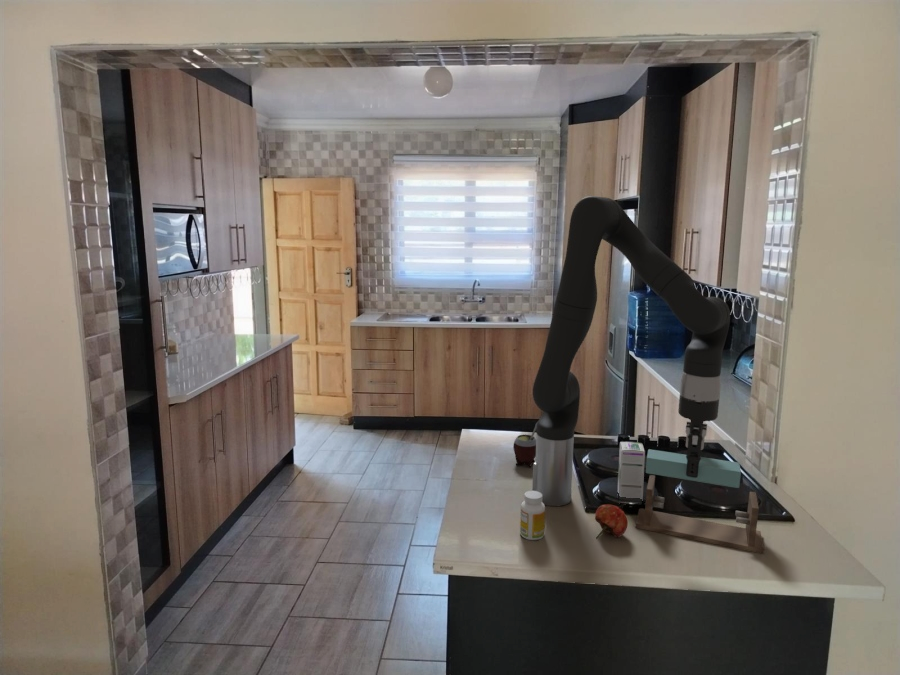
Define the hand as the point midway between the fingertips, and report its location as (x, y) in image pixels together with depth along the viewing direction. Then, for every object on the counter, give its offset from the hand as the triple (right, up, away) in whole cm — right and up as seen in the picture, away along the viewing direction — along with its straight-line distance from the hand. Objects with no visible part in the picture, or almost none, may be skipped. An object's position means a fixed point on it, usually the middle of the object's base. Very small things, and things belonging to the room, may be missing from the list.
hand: (692, 470), depth 121 cm
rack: (+5, -16, +9) cm, 19 cm away
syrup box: (-6, -13, +24) cm, 28 cm away
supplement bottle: (-33, -16, +8) cm, 38 cm away
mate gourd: (-29, -9, +46) cm, 55 cm away
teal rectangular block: (0, -1, 0) cm, 1 cm away
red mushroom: (-15, -16, +8) cm, 24 cm away
